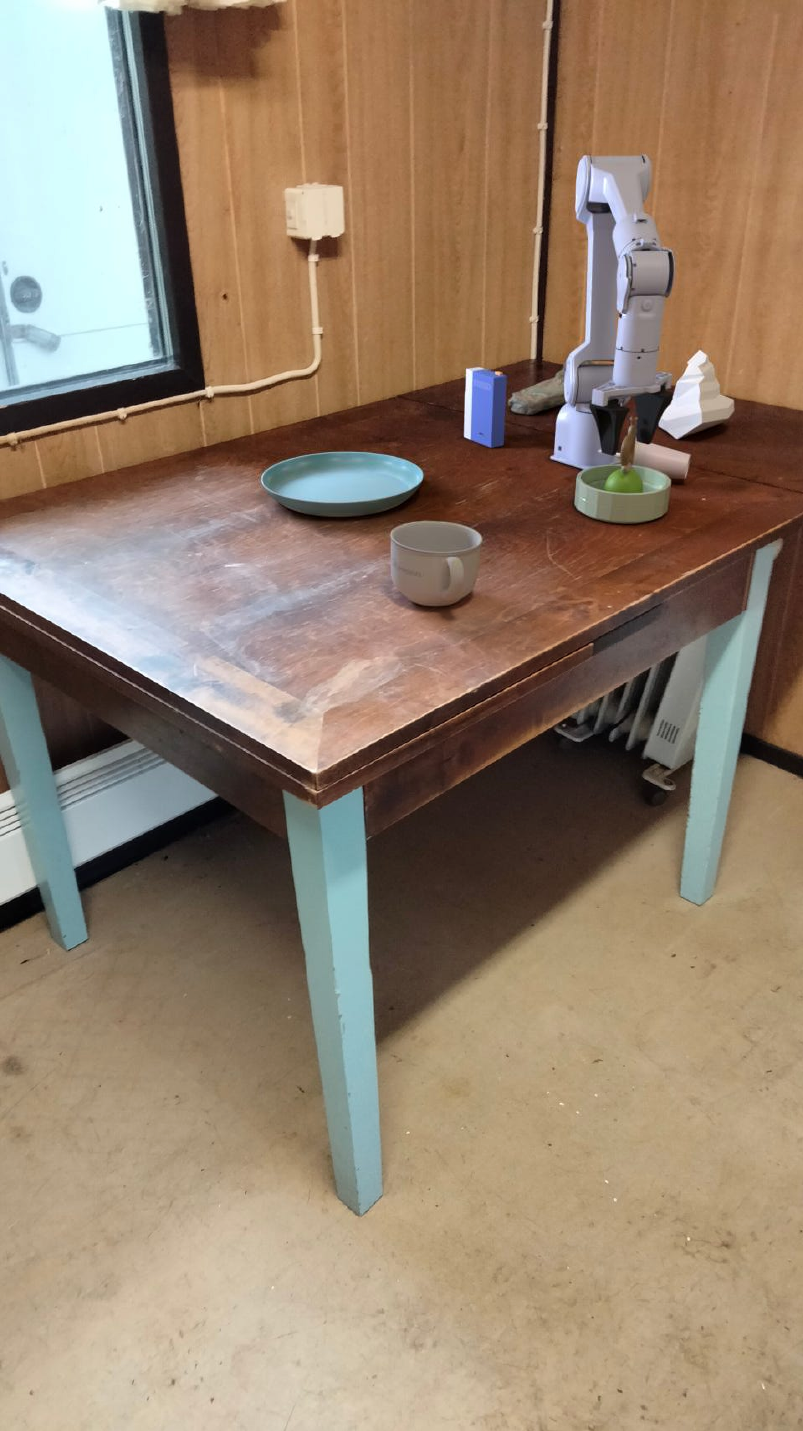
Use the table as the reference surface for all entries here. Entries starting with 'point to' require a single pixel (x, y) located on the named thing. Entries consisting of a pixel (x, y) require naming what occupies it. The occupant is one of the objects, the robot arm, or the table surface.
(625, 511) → the bowl
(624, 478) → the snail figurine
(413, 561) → the teacup
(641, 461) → the smoothie
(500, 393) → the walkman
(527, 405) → the elongated rock
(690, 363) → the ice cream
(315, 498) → the teal plate
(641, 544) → the table surface
